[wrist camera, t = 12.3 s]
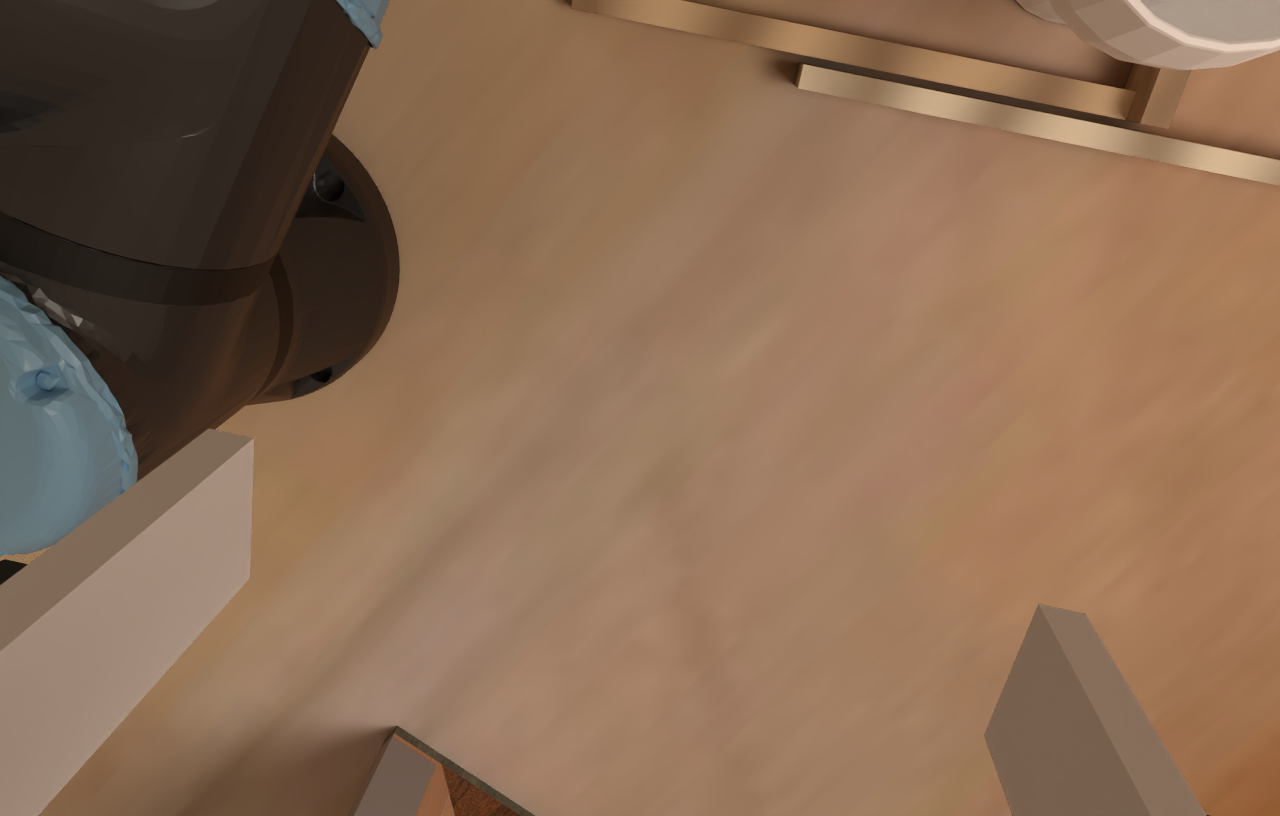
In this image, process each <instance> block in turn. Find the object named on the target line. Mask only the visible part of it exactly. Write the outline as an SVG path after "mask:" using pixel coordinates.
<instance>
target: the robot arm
mask: <svg viewBox="0 0 1280 816" xmlns="http://www.w3.org/2000/svg"><path fill="white" fill-rule="evenodd" d="M389 1H390V0H0V557H1V556H3V555H15V554H29V553H33V552H36V551H39V550H42V549H45V548H47V547H50V546H52V545H53V546H52V547H51V548H49V549H48V550H47V551H45V552H44V553H43V554H41V555H40V556H39V557H37V558H36V559H35V560H33V561H32V562H31V563H29V564H24V563H19V562H15V561H10V560H5V559H4V560H2V561H0V816H38V815H39V814H40V813H41V812H42V811H43V810H44V809H45V807H46V806H47V805H48V804H49V803H50V802H51V801H52V800H53V798H54V797H55V796H56V795H57V794H58V793H59V792H60V791H61V789H62V788H63V787H64V786H65V785H66V784H67V783H68V782H69V780H70V779H71V778H72V777H73V776H74V775H75V774H76V773H77V771H78V770H79V769H80V768H81V767H82V766H83V765H84V764H85V762H86V761H87V760H88V759H89V758H90V757H91V756H92V755H93V754H94V752H95V751H96V750H97V749H98V748H99V747H100V746H101V745H102V743H103V742H104V741H105V740H106V739H107V738H108V737H109V736H110V734H111V733H112V732H113V731H114V730H115V729H116V728H117V727H118V725H119V724H120V723H121V722H122V721H123V720H124V719H125V718H126V716H127V715H128V714H129V713H130V712H131V711H132V710H133V709H134V707H135V706H136V705H137V704H138V703H139V702H140V701H141V700H142V699H143V697H144V696H145V695H146V694H147V693H148V692H149V691H150V690H151V688H152V687H153V686H154V685H155V684H156V683H157V682H158V681H159V679H160V678H161V677H162V676H163V675H164V674H165V673H166V672H167V670H168V669H169V668H170V667H171V666H172V665H173V664H174V663H175V661H176V660H177V659H178V658H179V657H180V656H181V655H182V654H183V652H184V651H185V650H186V649H187V648H188V647H189V646H190V645H191V643H192V642H193V641H194V640H195V639H196V638H197V637H198V636H199V635H200V633H201V632H202V631H203V630H204V629H205V628H206V627H207V626H208V624H209V623H210V622H211V621H212V620H213V619H214V618H215V617H216V615H217V614H218V613H219V612H220V611H221V610H222V609H223V608H224V606H225V605H226V604H227V603H228V602H229V601H230V600H231V599H232V597H233V596H234V595H235V594H236V593H237V592H238V591H239V590H240V588H241V587H242V586H243V585H244V584H245V583H246V582H247V581H248V579H249V578H250V556H251V522H252V488H253V453H254V438H252V437H247V436H242V435H237V434H233V433H228V432H223V431H218V430H215V429H216V428H217V427H218V426H220V425H221V424H222V423H224V422H225V421H226V420H227V419H229V418H230V417H231V416H233V415H234V414H235V413H236V412H238V411H239V410H240V409H242V408H243V407H244V406H246V405H254V404H262V403H269V402H277V401H284V400H290V399H294V398H298V397H301V396H305V395H307V394H310V393H313V392H315V391H317V390H319V389H321V388H323V387H325V386H327V385H329V384H331V383H332V382H334V381H335V380H337V379H338V378H340V377H341V376H342V375H344V374H345V373H346V372H347V371H348V370H350V369H351V368H352V367H353V366H354V365H355V364H357V363H358V362H359V361H360V360H361V359H362V358H363V357H364V356H365V355H366V354H367V353H368V352H369V351H370V350H371V349H372V348H373V346H374V345H375V344H376V342H377V341H378V340H379V338H380V337H381V335H382V333H383V332H384V330H385V328H386V326H387V324H388V322H389V320H390V317H391V314H392V312H393V309H394V305H395V302H396V297H397V292H398V285H399V272H400V267H399V251H398V244H397V238H396V234H395V230H394V226H393V223H392V220H391V217H390V214H389V211H388V209H387V206H386V204H385V202H384V200H383V198H382V195H381V193H380V192H379V190H378V188H377V186H376V184H375V183H374V181H373V180H372V178H371V177H370V175H369V173H368V172H367V171H366V169H365V168H364V167H363V165H362V164H361V163H360V162H359V160H358V159H357V158H356V157H355V156H354V155H353V153H352V152H351V151H350V150H349V149H348V148H347V147H346V146H345V145H344V144H343V143H341V142H340V141H339V140H338V139H337V138H336V137H335V136H333V135H332V132H333V130H334V128H335V125H336V123H337V121H338V119H339V116H340V114H341V112H342V110H343V107H344V105H345V103H346V101H347V98H348V96H349V94H350V92H351V89H352V87H353V85H354V83H355V80H356V78H357V76H358V74H359V71H360V69H361V67H362V65H363V62H364V60H365V58H366V56H367V53H368V51H369V49H370V47H372V48H374V49H377V48H378V46H379V44H380V42H381V39H382V32H381V29H380V24H381V22H382V19H383V16H384V14H385V11H386V9H387V6H388V4H389ZM54 544H55V545H54ZM984 737H985V739H986V742H987V745H988V748H989V751H990V754H991V756H992V759H993V762H994V765H995V768H996V771H997V773H998V776H999V779H1000V782H1001V785H1002V788H1003V790H1004V793H1005V796H1006V799H1007V802H1008V805H1009V807H1010V810H1011V813H1012V816H1209V815H1206V814H1205V812H1204V810H1203V809H1202V807H1201V806H1200V804H1199V802H1198V801H1197V799H1196V797H1195V796H1194V794H1193V792H1192V791H1191V789H1190V787H1189V786H1188V784H1187V782H1186V781H1185V779H1184V777H1183V776H1182V774H1181V772H1180V771H1179V769H1178V767H1177V766H1176V764H1175V762H1174V761H1173V759H1172V757H1171V756H1170V754H1169V752H1168V751H1167V749H1166V747H1165V746H1164V744H1163V742H1162V741H1161V739H1160V737H1159V736H1158V734H1157V732H1156V731H1155V729H1154V727H1153V726H1152V724H1151V722H1150V721H1149V719H1148V717H1147V716H1146V714H1145V712H1144V711H1143V709H1142V707H1141V706H1140V704H1139V702H1138V701H1137V699H1136V697H1135V696H1134V694H1133V692H1132V691H1131V689H1130V687H1129V686H1128V684H1127V682H1126V681H1125V679H1124V677H1123V676H1122V674H1121V672H1120V671H1119V669H1118V667H1117V666H1116V664H1115V662H1114V661H1113V659H1112V657H1111V656H1110V654H1109V652H1108V651H1107V649H1106V647H1105V646H1104V644H1103V642H1102V641H1101V639H1100V638H1099V636H1098V634H1097V633H1096V631H1095V629H1094V628H1093V626H1092V624H1091V623H1090V621H1089V619H1088V618H1087V616H1086V614H1084V613H1080V612H1075V611H1070V610H1065V609H1061V608H1056V607H1051V606H1047V605H1042V604H1038V607H1037V609H1036V611H1035V614H1034V616H1033V619H1032V621H1031V623H1030V626H1029V628H1028V631H1027V633H1026V635H1025V638H1024V640H1023V643H1022V645H1021V647H1020V650H1019V652H1018V655H1017V657H1016V659H1015V662H1014V664H1013V667H1012V669H1011V671H1010V674H1009V676H1008V679H1007V681H1006V683H1005V686H1004V688H1003V691H1002V693H1001V695H1000V698H999V700H998V703H997V705H996V707H995V710H994V712H993V715H992V717H991V719H990V722H989V724H988V727H987V729H986V731H985V734H984Z"/></svg>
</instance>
